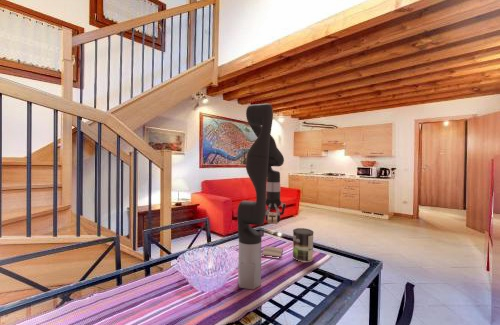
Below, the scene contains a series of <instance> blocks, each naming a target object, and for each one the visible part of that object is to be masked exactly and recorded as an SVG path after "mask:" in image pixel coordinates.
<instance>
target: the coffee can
mask: <svg viewBox="0 0 500 325" xmlns="http://www.w3.org/2000/svg"><path fill="white" fill-rule="evenodd" d="M292 234H293V235H292V236H293V237H292V238H293V239H292V258H293V257H294V258H295V259H296V260H298V261H297V262H299V261H301V262H300V263H310V262H313V261H314V257H313V255H314V231H313V230H312V229H310V228H305V227H301V228H294V229H293V230H292ZM296 260H295V261H296Z"/></svg>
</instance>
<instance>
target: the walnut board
mask: <svg viewBox="0 0 500 325" xmlns="http://www.w3.org/2000/svg"><path fill="white" fill-rule="evenodd" d="M282 250H284V248H283V247H273V246H264V248H263V250H262V251H261V255H264V256H272V257H279V258H281V259H282V256H281V254H282V255H283V251H282Z"/></svg>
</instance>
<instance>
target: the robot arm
mask: <svg viewBox="0 0 500 325" xmlns="http://www.w3.org/2000/svg"><path fill="white" fill-rule="evenodd" d="M273 110H274V109H273V106H272V104H270V103H258V104H257V103H256V104H250V105H248V106H247V108H246V111H245V116H246V121H247V123H248V124H249V127H250V128H251V130H252V132H253V133H254V135H255V136H256V139H255V141H254V142H253V143H252V145H251V146H250V148H249V150H248V151H247V154H246V162H245V163H246V164H245V170H246V173H247V175H248V177H249V179H250V181H251V183H252V185H253V188H254V190H255V195H256V196H255V198H256V199H255V200H256V201H254V200H242V201H240V202H239V204H238V207H237V213H236V214H237V235H238V260H237V262H238V268H237V269H238V270H237V271H238V274H237V275H238V276H237V278H238V279H237V280H238V281H237V283H238V288H241V289H249V290H255V289H256V288H258V287H260V286H261V284H262V257H261V254H262V233H261V232H259V231H258V230H256V229H254V228H253V227H252V226H262V225H264V223H265V221H266V222H267V223H268V213H269V212H271V210H274V211H276V213H277V214H278V216H277V224H278V223H279V222H280V221H281V216H283V215H284V213H285V209H286V206H287V204H286V202H284V203H283V202H282V201H281V189H282V188H281V172H280V171H279V170H276V169H275V170H274V169H273V168H272V167H281V166H283V165H284V162H285V158H284V156H283V153H282V152H281V151H280V149H279V148H278V146H277V143H276V140H275V138H274V137H273V135H272V134H271V133H272V127H273V119H274V111H273ZM279 207H281V209H282V210H281V211H280V208H279ZM251 225H252V226H251Z"/></svg>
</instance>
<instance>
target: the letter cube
mask: <svg viewBox="0 0 500 325" xmlns="http://www.w3.org/2000/svg"><path fill="white" fill-rule="evenodd" d="M277 216H278V214H277V212H273V211H269V213H268V222H267V224H269V225H270V224H272V225H278V223H277Z"/></svg>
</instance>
